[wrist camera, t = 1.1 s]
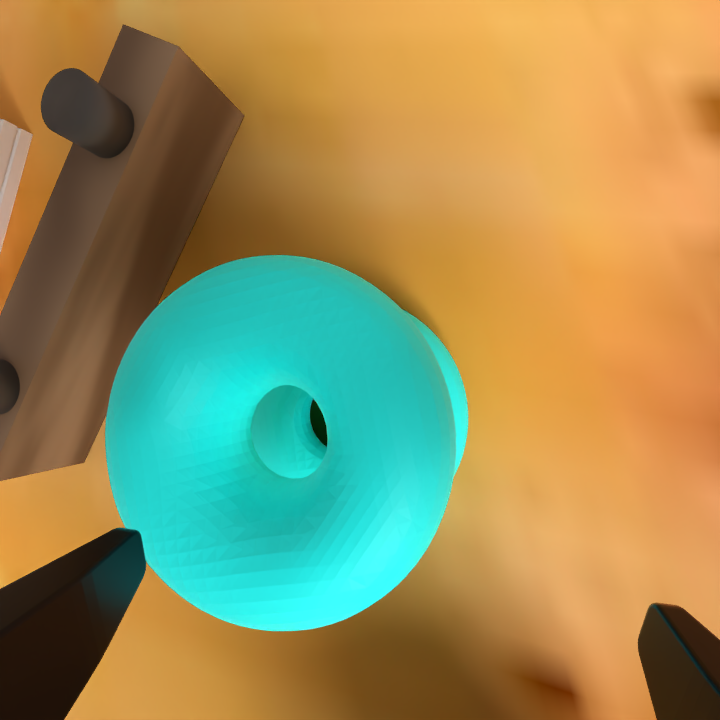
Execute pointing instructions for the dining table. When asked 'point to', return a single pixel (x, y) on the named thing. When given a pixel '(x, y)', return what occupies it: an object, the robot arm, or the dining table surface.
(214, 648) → the dining table surface
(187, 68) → the bar
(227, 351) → the donuts
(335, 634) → the dining table surface
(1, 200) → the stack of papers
